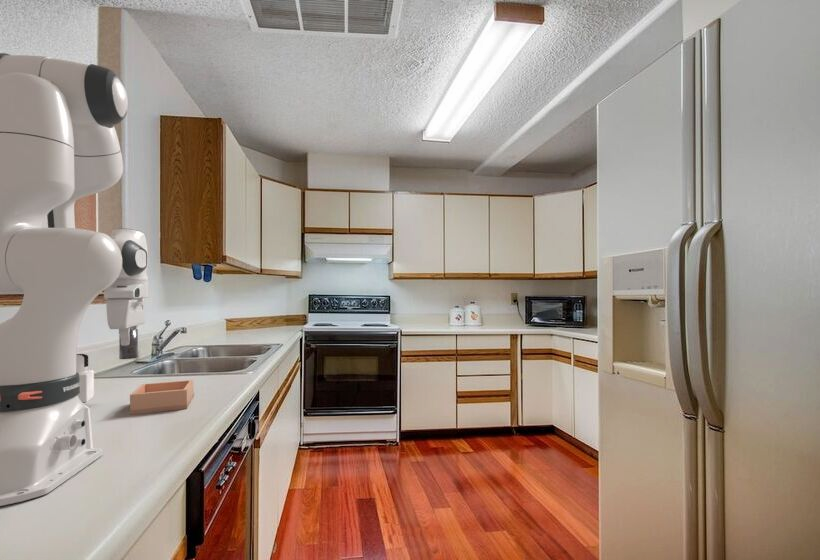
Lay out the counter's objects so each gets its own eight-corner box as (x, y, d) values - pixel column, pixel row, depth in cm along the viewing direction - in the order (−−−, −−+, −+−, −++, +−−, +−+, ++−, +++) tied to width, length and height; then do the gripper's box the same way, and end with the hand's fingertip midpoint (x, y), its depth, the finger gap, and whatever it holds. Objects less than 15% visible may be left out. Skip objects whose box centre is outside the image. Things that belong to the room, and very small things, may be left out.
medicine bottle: (61, 399, 110) (60, 353, 110) (94, 396, 113) (94, 351, 113) (51, 406, 104) (51, 357, 104) (87, 402, 107) (86, 355, 107)
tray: (186, 408, 100) (186, 389, 100) (130, 414, 96) (129, 394, 96) (193, 396, 111) (193, 379, 111) (142, 401, 107) (142, 383, 107)
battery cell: (135, 358, 109) (135, 327, 109) (117, 359, 107) (117, 328, 108) (139, 356, 113) (139, 326, 113) (121, 357, 111) (121, 327, 111)
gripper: (126, 291, 119) (126, 340, 119) (101, 291, 100) (101, 349, 100) (151, 291, 121) (151, 339, 121) (132, 291, 102) (132, 347, 102)
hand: (128, 344), depth 110 cm, fingers closed on battery cell, 4 cm apart
